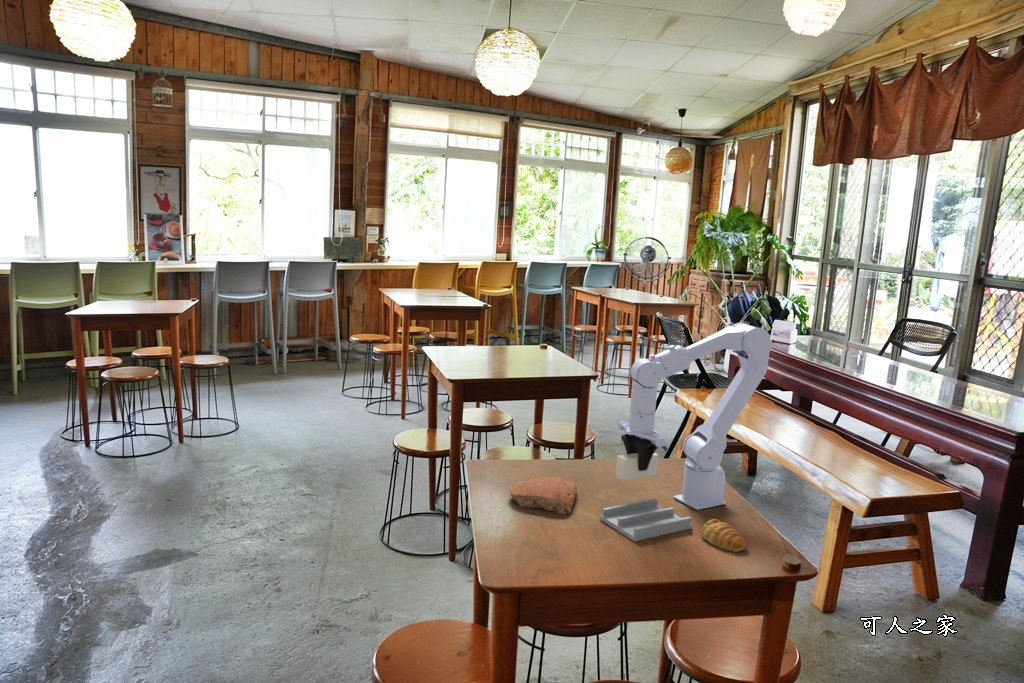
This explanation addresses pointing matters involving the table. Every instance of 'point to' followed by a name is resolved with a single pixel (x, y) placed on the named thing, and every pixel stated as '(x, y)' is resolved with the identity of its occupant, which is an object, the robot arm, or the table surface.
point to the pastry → (723, 535)
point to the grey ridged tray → (644, 520)
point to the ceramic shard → (545, 494)
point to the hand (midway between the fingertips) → (637, 467)
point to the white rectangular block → (634, 467)
